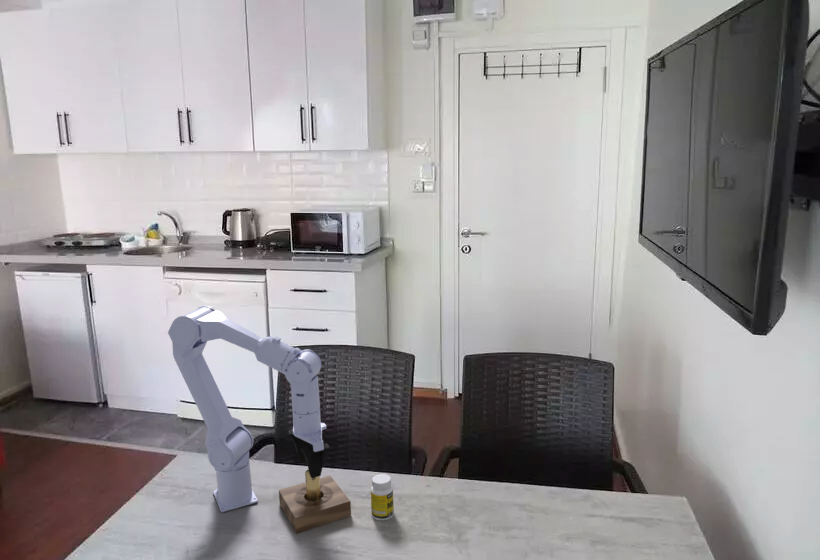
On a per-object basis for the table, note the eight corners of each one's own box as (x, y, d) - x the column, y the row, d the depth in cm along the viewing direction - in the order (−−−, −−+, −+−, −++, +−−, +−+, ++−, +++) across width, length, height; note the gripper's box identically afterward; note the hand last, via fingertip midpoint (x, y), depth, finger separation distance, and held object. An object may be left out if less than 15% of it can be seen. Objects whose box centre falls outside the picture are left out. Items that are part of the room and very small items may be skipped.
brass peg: (305, 504, 130) (303, 470, 129) (318, 500, 132) (316, 467, 130) (310, 511, 128) (307, 477, 126) (323, 507, 129) (321, 473, 128)
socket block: (279, 504, 132) (278, 490, 132) (331, 489, 138) (330, 475, 137) (296, 533, 122) (295, 518, 121) (351, 515, 128) (350, 500, 127)
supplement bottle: (391, 522, 125) (389, 485, 123) (369, 520, 126) (367, 483, 124) (396, 509, 129) (394, 473, 128) (374, 507, 130) (373, 471, 129)
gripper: (336, 417, 122) (339, 478, 125) (313, 393, 134) (316, 449, 137) (302, 425, 119) (306, 487, 121) (282, 400, 131) (286, 457, 134)
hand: (309, 468), depth 129 cm, fingers open, 7 cm apart
